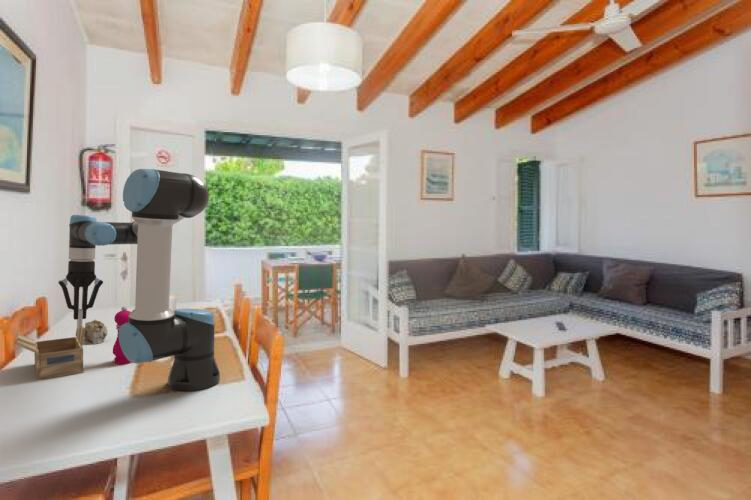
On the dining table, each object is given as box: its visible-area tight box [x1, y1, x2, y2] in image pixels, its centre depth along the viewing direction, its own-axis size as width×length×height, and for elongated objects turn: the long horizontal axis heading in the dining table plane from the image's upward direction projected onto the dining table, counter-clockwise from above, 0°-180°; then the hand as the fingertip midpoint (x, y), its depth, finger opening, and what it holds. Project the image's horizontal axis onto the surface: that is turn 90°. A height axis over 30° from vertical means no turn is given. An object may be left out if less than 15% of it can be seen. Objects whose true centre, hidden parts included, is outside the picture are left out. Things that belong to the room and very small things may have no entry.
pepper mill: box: [112, 305, 133, 366], centre depth 153 cm, size 7×7×20 cm
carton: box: [34, 336, 84, 381], centre depth 145 cm, size 19×12×8 cm, turn 40°
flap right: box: [75, 324, 85, 347], centre depth 148 cm, size 16×6×1 cm
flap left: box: [16, 332, 37, 354], centre depth 139 cm, size 16×6×1 cm
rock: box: [84, 319, 108, 345], centre depth 180 cm, size 12×7×10 cm, turn 48°
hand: (79, 328), depth 148 cm, fingers closed
